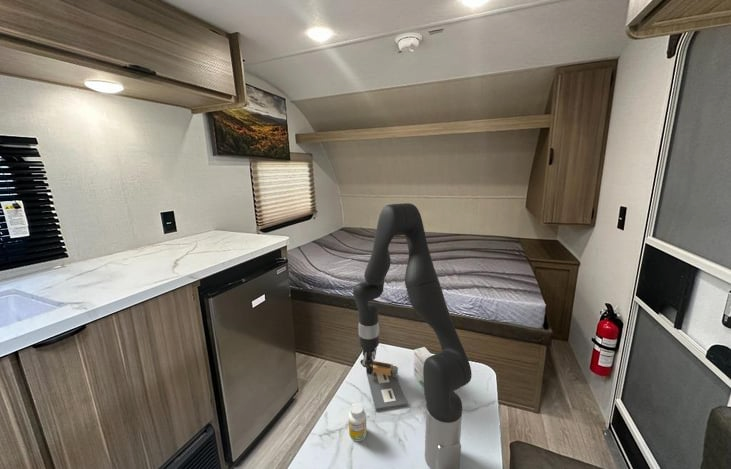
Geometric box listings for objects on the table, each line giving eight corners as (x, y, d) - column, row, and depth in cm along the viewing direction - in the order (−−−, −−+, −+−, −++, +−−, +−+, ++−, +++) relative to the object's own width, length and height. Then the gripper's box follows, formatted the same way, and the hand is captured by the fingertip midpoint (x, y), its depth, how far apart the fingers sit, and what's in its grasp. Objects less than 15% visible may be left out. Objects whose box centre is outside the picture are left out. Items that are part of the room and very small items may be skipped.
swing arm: (396, 377, 107) (396, 369, 107) (367, 370, 111) (367, 363, 110) (398, 369, 111) (398, 362, 110) (370, 364, 115) (370, 357, 114)
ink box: (436, 386, 106) (437, 359, 103) (424, 390, 104) (425, 362, 102) (423, 371, 114) (424, 345, 111) (412, 375, 112) (413, 349, 109)
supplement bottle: (355, 423, 92) (354, 398, 90) (370, 431, 89) (369, 405, 87) (345, 436, 88) (344, 410, 85) (360, 445, 85) (359, 418, 83)
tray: (407, 406, 98) (407, 399, 97) (375, 411, 96) (375, 404, 96) (393, 370, 115) (393, 364, 115) (366, 373, 114) (366, 368, 113)
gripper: (372, 344, 98) (373, 387, 102) (383, 324, 110) (384, 364, 114) (352, 340, 100) (354, 382, 104) (365, 321, 112) (366, 360, 116)
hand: (369, 372), depth 109 cm, fingers closed
